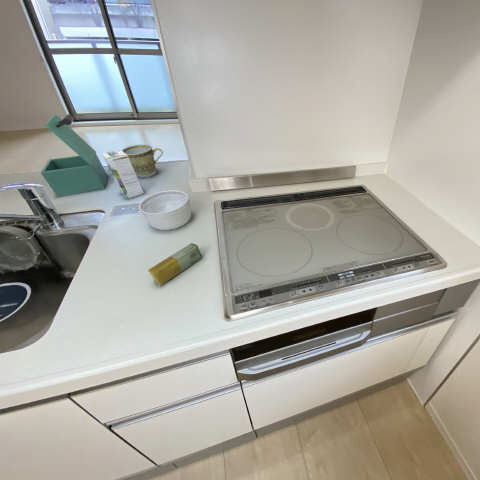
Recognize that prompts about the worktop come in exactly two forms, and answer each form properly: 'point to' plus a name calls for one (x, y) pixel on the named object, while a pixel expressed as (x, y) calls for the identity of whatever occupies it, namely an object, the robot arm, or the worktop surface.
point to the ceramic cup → (142, 159)
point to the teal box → (74, 175)
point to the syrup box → (123, 173)
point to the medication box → (175, 264)
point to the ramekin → (166, 209)
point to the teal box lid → (71, 137)
